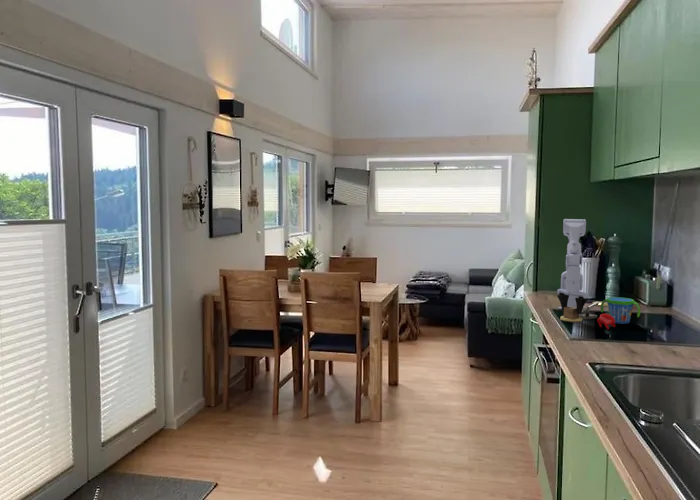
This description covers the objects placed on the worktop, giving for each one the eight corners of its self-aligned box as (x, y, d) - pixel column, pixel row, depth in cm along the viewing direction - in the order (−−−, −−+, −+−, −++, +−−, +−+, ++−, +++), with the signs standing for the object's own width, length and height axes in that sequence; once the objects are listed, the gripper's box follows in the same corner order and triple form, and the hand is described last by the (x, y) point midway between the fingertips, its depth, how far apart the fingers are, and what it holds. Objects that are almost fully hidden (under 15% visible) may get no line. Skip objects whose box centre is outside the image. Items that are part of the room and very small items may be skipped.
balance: (600, 312, 260) (600, 298, 259) (617, 316, 252) (618, 302, 251) (555, 319, 245) (556, 304, 244) (572, 323, 237) (573, 307, 237)
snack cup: (595, 321, 242) (596, 297, 241) (607, 317, 249) (608, 295, 248) (632, 327, 230) (633, 303, 229) (643, 324, 237) (645, 300, 236)
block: (570, 316, 246) (571, 306, 246) (579, 318, 242) (579, 308, 242) (563, 317, 244) (564, 307, 244) (572, 319, 240) (572, 308, 240)
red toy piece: (605, 322, 224) (617, 314, 224) (594, 315, 229) (606, 307, 229) (608, 335, 228) (620, 328, 228) (597, 328, 233) (609, 320, 234)
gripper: (553, 279, 246) (551, 310, 247) (581, 284, 234) (579, 316, 235) (563, 278, 250) (562, 308, 251) (592, 283, 237) (590, 314, 238)
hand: (571, 312), depth 243 cm, fingers open, 7 cm apart
